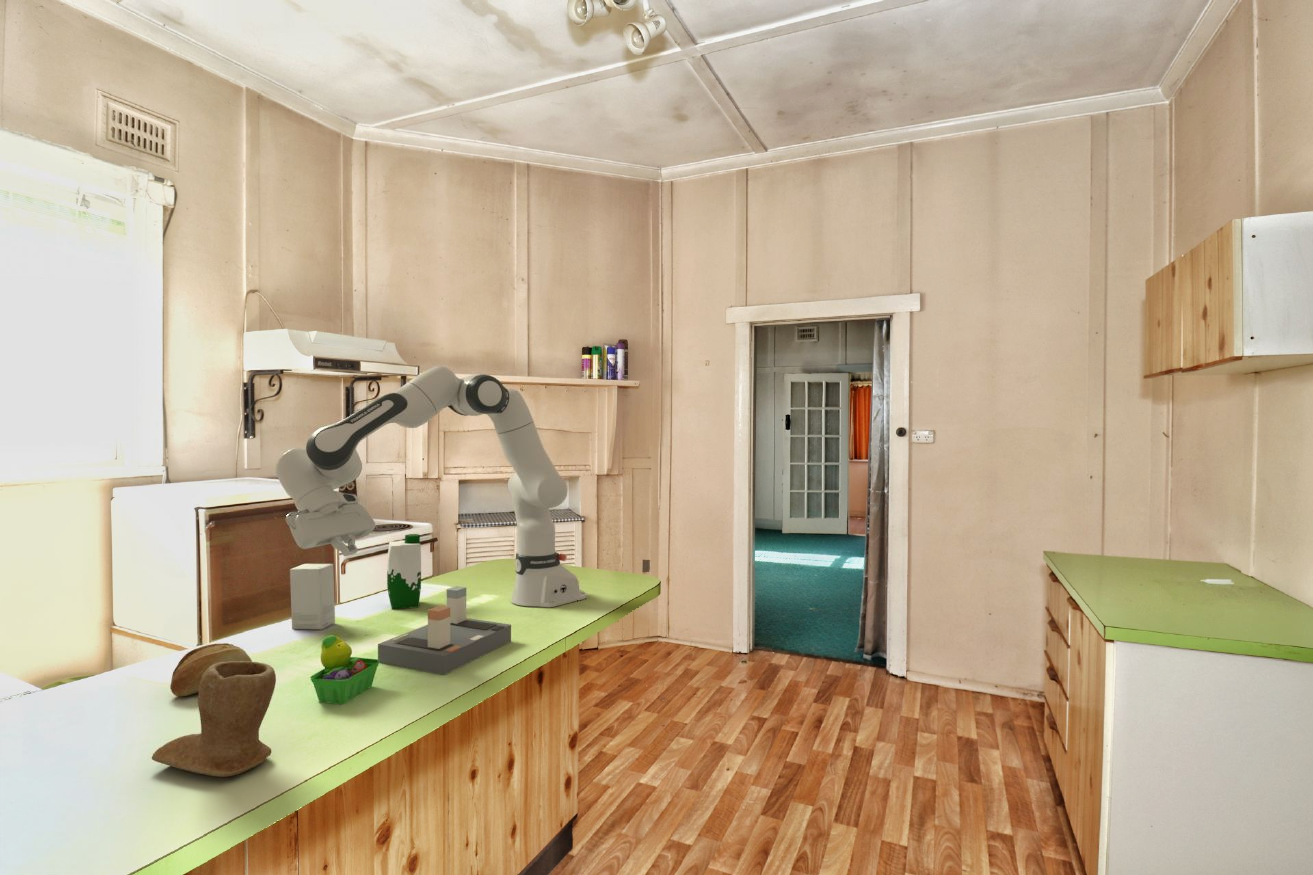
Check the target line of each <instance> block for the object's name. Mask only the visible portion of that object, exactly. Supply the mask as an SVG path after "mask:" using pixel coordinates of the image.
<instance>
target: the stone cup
mask: <svg viewBox="0 0 1313 875" xmlns="http://www.w3.org/2000/svg"><path fill="white" fill-rule="evenodd" d="M276 681H277V676H276V672H275V669H274V667H272V666H271V665H270V664H268V663H264V662H257V661H252V662H250V661H227V662H220V663H216V664H213V665H212V666H210V667H209V668H208V669H207V670H206V671H205V672H204V674H203V675H202V678H201V681H200V686H199V692H198V698H197V700H198V701H197V703H198V705H197V707H198V712H199V718H200V730H201V731H200V733H192V734H187V735H183V736H179V737H177V738H175V739H172V740H171V741H169V742H166V743H165V744H164V745H162V746H160V747H159V748H157V749H156V750H155V751H154V752H153V754H152V756H151V760H153V762H157V763H160V764H163V765H165V766H169V767H173V768H177V769H180V770H183V771H187V772H192V773H195V774H200V775H205V776H211V777H217V778H218V777H220V778H222V777H224V778H225V777H231V776H235V775H239V774H242V773H244V772H247V771H249V770H251V769H253V768H255V767H257V766H258V765H260V764H261V763H263V762H265V761H266V760H267V758H268V757H270V755H271V754H272V749H271V747H269V746H268V745H266V744H265V743H263V742H262V741H261V740H260V728H261V726H262V723H263V720H264V718H265V715H266V714H267V712H268V709H269V707H270V704H271V702H272V698H273V695H274V692H275V688H276V683H277V682H276Z"/></svg>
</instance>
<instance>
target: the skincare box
mask: <svg viewBox="0 0 1313 875" xmlns="http://www.w3.org/2000/svg"><path fill="white" fill-rule="evenodd" d="M289 578H290V579H289V581H290V602H291V603H290V610H291V629H292V630H318V631H319V630H324V629H326V628H327V627H329V626H331V625H334V624H335V623H336V608H335V603H336V602H335V576H334V563H303V564H301V565H298V566H295V567H293V568H290V569H289Z"/></svg>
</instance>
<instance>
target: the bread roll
mask: <svg viewBox="0 0 1313 875" xmlns="http://www.w3.org/2000/svg"><path fill="white" fill-rule="evenodd" d="M227 661H250V662H253V660H252V658H251V656H249V655H248V653H247V652H246V651H245V650H244V649H243V648H241V647H240V646H238V645H234V644H233V643H231V644H230V643H227V642H225V643H213V644H206V645H203V646H200V647H198V648H194V649H192V650H190V651H188V652H187V653H186V654H185V655H184V656H183V657H182V658H181V659H180V661H178V664H177V665H176V667H175V669H174V670H173V671H172V676H171V681H170V682H171V683H170V686H169V687H170V691H171V693H172V694H173V695H174V696H176V697H187V696H189V695H193V694H197V693H199V686H200V681H201V678H202V675H203V674H204V672H205V671H206V670H207V669H208V668H209V667H210V666H212V665H213V664H216V663H220V662H227Z"/></svg>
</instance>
